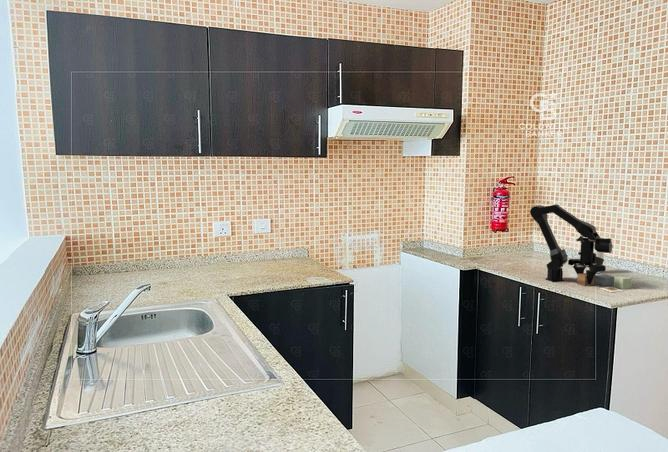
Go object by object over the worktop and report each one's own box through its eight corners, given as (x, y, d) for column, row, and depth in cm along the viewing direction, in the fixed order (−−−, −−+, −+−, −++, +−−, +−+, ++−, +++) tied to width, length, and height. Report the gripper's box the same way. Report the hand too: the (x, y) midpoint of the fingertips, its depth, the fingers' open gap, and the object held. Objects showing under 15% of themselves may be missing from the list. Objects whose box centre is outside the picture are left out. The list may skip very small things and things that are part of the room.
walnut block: (584, 286, 239) (585, 275, 239) (577, 283, 244) (577, 273, 244) (593, 285, 241) (594, 275, 240) (585, 282, 245) (586, 273, 245)
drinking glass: (598, 270, 271) (599, 243, 269) (605, 273, 264) (607, 245, 262) (586, 271, 271) (587, 243, 269) (592, 273, 264) (594, 246, 262)
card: (611, 292, 228) (611, 291, 228) (599, 288, 234) (599, 287, 234) (623, 291, 229) (623, 290, 229) (611, 287, 236) (611, 286, 236)
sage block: (622, 289, 233) (622, 279, 232) (613, 286, 238) (614, 276, 237) (631, 288, 234) (631, 278, 233) (622, 286, 239) (623, 275, 238)
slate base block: (604, 286, 240) (604, 278, 239) (592, 283, 246) (593, 275, 246) (615, 285, 242) (616, 276, 241) (603, 281, 248) (604, 273, 248)
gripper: (616, 253, 233) (614, 285, 235) (586, 246, 251) (585, 277, 253) (596, 254, 231) (594, 287, 233) (568, 247, 248) (566, 278, 250)
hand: (585, 282), depth 242 cm, fingers closed on walnut block, 5 cm apart
